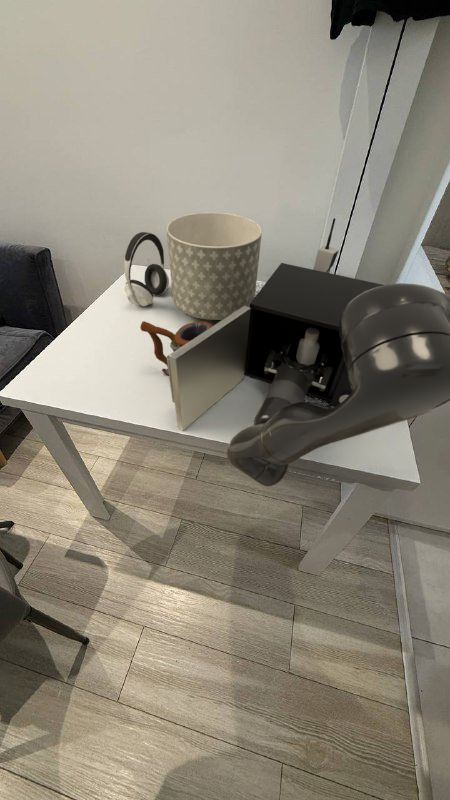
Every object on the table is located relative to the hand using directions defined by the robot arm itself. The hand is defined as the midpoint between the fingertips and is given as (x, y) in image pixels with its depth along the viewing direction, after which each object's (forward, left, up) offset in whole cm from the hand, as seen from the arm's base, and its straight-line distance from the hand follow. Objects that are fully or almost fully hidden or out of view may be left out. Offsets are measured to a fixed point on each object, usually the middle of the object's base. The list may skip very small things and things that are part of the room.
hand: (306, 351), depth 77 cm
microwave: (-1, -4, -8) cm, 9 cm away
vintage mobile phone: (+5, -39, -8) cm, 40 cm away
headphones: (+54, -15, -8) cm, 57 cm away
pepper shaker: (0, -5, -7) cm, 9 cm away
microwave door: (+18, +17, -8) cm, 26 cm away
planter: (+33, -19, -8) cm, 39 cm away
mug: (+26, +13, -8) cm, 30 cm away
